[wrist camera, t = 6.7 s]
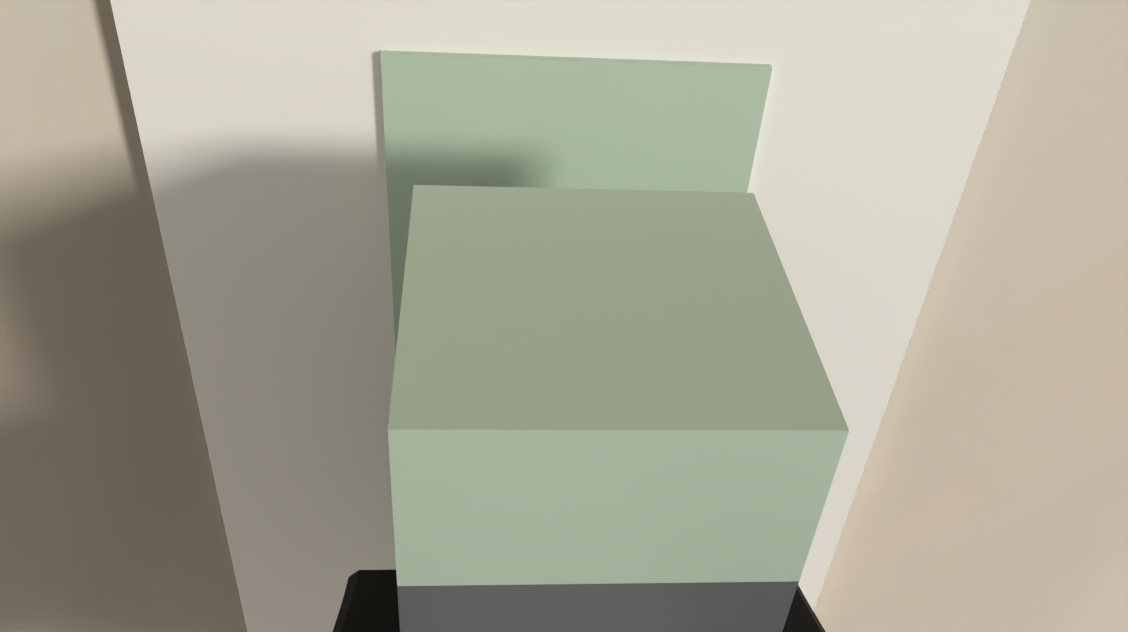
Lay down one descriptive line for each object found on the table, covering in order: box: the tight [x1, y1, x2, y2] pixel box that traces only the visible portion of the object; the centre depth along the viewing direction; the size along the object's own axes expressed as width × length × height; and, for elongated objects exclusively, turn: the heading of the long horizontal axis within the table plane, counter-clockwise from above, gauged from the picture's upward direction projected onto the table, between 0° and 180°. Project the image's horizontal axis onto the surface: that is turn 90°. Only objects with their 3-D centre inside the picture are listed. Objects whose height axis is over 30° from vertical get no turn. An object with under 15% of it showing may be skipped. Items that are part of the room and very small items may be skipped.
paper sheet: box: [110, 0, 1031, 632], centre depth 14 cm, size 12×10×1 cm
